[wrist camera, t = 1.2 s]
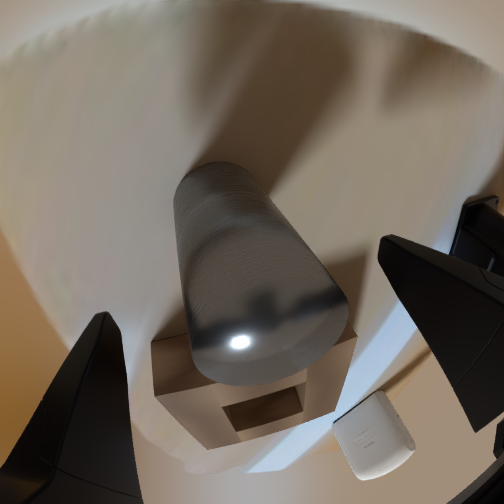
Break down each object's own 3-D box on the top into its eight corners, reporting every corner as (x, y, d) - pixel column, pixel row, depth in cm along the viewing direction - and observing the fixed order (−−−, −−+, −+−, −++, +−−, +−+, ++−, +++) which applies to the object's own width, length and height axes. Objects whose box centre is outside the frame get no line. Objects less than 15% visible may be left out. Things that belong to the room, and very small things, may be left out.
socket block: (328, 292, 19) (357, 336, 15) (318, 378, 26) (334, 410, 23) (150, 342, 17) (154, 396, 14) (199, 413, 24) (207, 449, 21)
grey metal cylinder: (254, 153, 12) (357, 255, 6) (262, 230, 15) (339, 358, 8) (163, 174, 12) (167, 308, 5) (185, 249, 14) (213, 398, 8)
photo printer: (375, 389, 34) (414, 457, 24) (387, 388, 36) (424, 450, 27) (325, 425, 38) (355, 489, 28) (341, 423, 40) (370, 482, 30)
